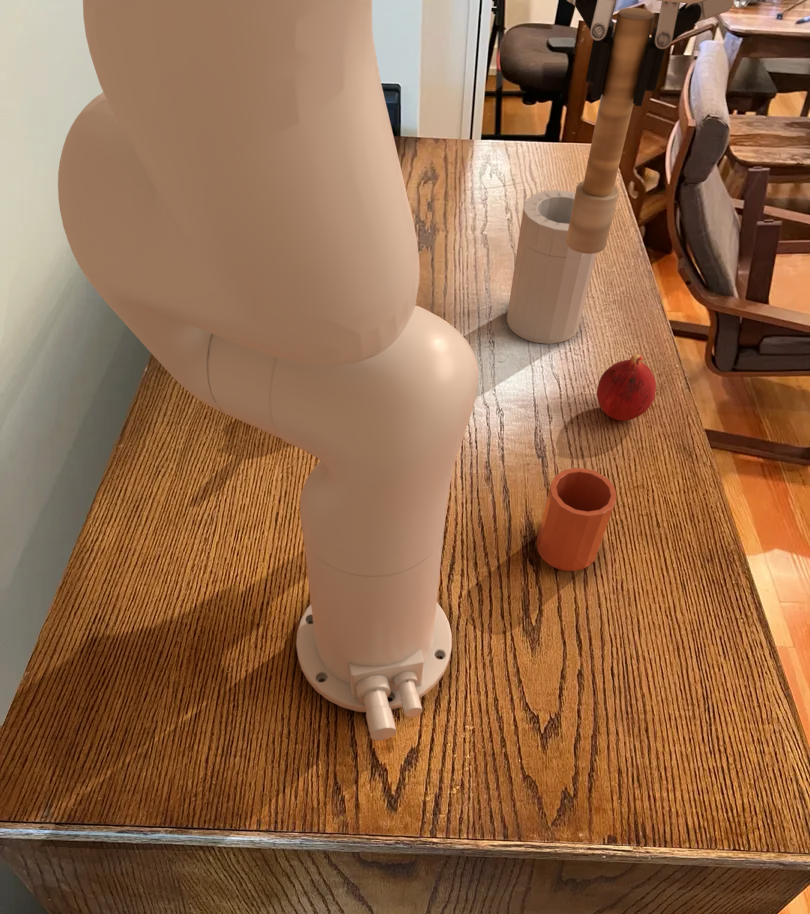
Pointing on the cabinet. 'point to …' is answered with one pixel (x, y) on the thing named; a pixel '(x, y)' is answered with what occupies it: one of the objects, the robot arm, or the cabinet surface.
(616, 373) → the onion
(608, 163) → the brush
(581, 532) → the holder
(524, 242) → the white hollow cylinder
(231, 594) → the cabinet surface
